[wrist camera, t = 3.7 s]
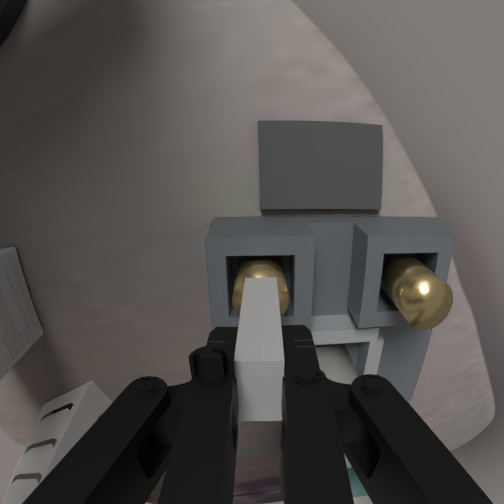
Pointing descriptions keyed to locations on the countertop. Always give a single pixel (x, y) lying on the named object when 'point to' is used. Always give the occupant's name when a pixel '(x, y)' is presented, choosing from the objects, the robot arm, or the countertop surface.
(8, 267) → the supplement box
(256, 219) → the housing
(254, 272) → the plunger
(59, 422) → the grater
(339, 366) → the cartridge
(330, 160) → the mat
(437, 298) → the plunger
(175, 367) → the countertop surface
